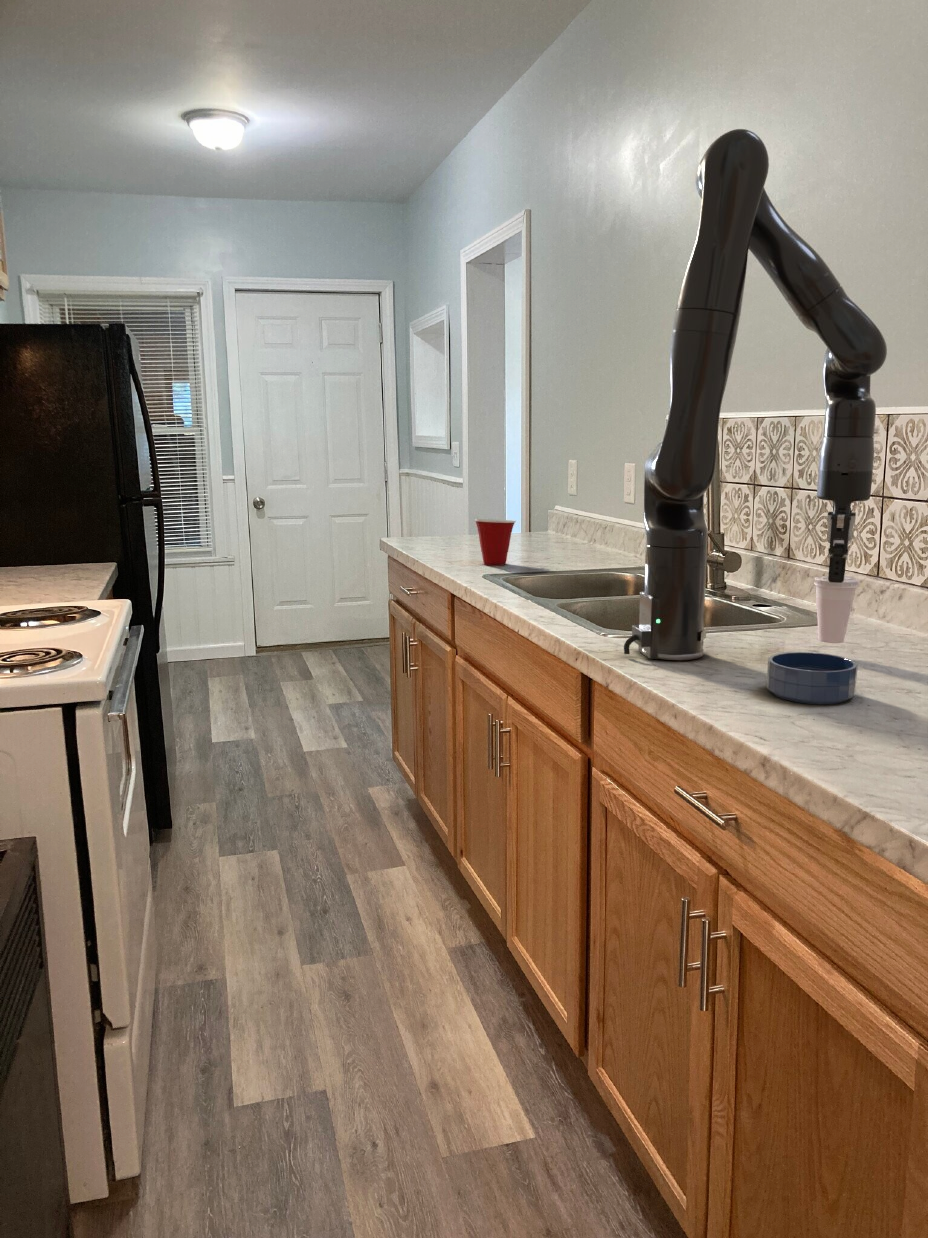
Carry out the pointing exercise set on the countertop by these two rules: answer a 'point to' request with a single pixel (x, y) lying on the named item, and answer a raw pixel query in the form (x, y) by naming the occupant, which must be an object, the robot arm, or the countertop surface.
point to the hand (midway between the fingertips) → (836, 578)
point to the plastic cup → (494, 540)
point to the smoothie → (834, 607)
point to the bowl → (811, 677)
